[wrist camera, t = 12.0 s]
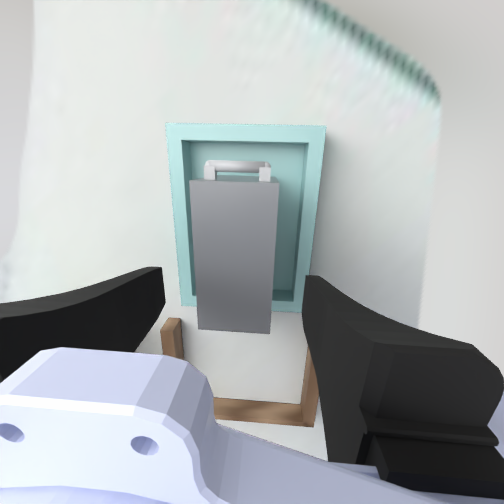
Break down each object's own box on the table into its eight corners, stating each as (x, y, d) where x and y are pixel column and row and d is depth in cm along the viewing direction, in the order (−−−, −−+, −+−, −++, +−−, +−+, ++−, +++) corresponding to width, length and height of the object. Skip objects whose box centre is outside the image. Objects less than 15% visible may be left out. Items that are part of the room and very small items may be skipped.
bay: (322, 327, 23) (327, 341, 21) (310, 409, 27) (313, 427, 25) (168, 317, 24) (160, 330, 22) (177, 398, 28) (171, 415, 26)
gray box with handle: (276, 162, 18) (280, 161, 11) (269, 282, 21) (269, 334, 15) (217, 161, 18) (187, 158, 12) (219, 279, 22) (198, 329, 15)
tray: (318, 130, 18) (326, 125, 15) (300, 297, 22) (304, 312, 20) (178, 128, 18) (165, 122, 16) (190, 291, 23) (181, 305, 21)
